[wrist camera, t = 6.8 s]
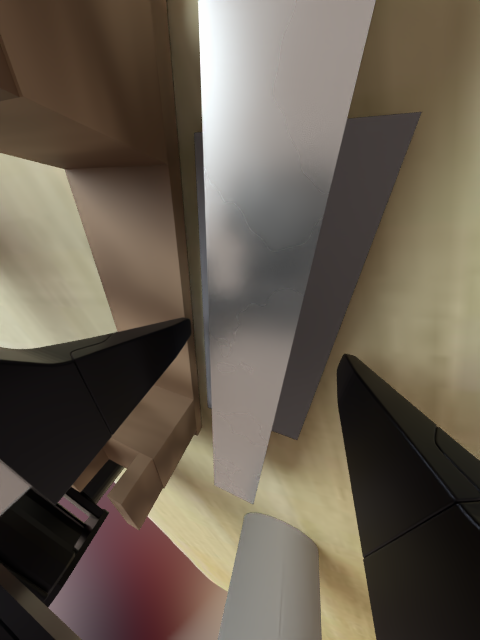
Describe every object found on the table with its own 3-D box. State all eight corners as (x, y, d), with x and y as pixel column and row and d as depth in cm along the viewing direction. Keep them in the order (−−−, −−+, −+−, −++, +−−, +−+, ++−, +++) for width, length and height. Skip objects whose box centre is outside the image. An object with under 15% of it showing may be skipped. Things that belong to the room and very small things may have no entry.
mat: (297, 434, 13) (297, 440, 12) (210, 403, 14) (207, 407, 14) (413, 120, 5) (421, 111, 5) (199, 137, 7) (193, 132, 7)
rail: (262, 457, 15) (253, 504, 12) (229, 443, 15) (214, 485, 13) (409, -181, 3) (738, -1498, 1) (256, -112, 4) (176, -661, 2)
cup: (244, 503, 21) (188, 749, 11) (325, 541, 19) (348, 907, 9) (244, 529, 25) (203, 725, 15) (310, 562, 23) (314, 827, 13)
